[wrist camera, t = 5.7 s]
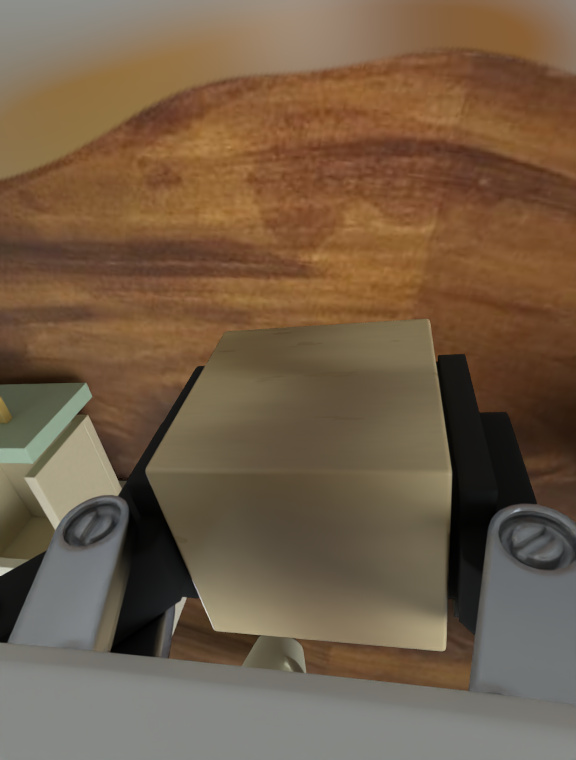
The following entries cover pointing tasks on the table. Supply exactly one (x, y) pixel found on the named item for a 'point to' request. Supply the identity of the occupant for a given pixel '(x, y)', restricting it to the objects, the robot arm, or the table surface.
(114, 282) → the table surface
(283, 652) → the mug
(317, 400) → the block
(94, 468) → the drawer
